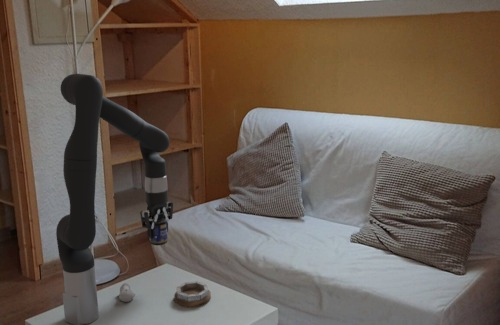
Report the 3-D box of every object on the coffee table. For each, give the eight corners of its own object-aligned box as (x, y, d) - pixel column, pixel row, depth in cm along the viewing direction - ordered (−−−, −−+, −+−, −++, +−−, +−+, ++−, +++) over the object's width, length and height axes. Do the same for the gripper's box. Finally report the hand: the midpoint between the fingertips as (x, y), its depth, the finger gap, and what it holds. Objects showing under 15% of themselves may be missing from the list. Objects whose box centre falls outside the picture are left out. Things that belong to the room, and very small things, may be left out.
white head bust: (132, 306, 174) (117, 303, 173) (133, 294, 182) (118, 291, 180) (136, 294, 173) (120, 292, 172) (136, 283, 181) (121, 280, 179)
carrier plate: (195, 310, 168) (195, 300, 167) (167, 301, 175) (166, 291, 174) (217, 295, 178) (217, 286, 177) (190, 286, 184) (189, 277, 184)
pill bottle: (163, 246, 179) (162, 215, 177) (146, 245, 180) (145, 214, 178) (170, 239, 185) (168, 210, 182) (153, 238, 186) (152, 208, 184)
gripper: (162, 182, 186) (164, 227, 190) (132, 191, 174) (135, 239, 178) (178, 185, 182) (180, 231, 186) (149, 195, 170) (151, 244, 174)
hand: (158, 235), depth 182 cm, fingers closed on pill bottle, 6 cm apart
